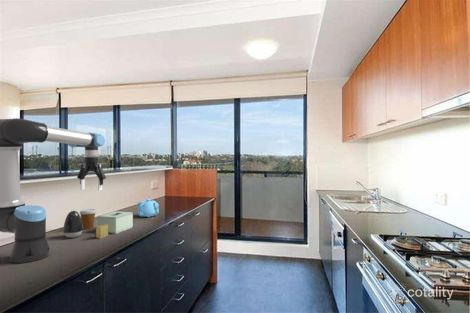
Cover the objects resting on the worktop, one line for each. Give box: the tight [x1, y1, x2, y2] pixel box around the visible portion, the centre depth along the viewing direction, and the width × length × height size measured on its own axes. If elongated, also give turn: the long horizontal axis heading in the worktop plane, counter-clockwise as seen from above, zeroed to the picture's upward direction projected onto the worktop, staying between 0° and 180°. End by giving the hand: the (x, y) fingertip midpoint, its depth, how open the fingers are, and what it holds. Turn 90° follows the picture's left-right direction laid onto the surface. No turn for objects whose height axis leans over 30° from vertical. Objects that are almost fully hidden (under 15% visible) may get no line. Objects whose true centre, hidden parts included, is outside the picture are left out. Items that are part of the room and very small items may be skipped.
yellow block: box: [95, 224, 109, 240], centre depth 160 cm, size 6×3×7 cm, turn 164°
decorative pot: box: [136, 198, 160, 218], centre depth 218 cm, size 16×16×14 cm
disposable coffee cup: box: [79, 208, 97, 231], centre depth 180 cm, size 10×10×12 cm
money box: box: [96, 210, 134, 235], centre depth 177 cm, size 16×14×10 cm
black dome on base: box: [62, 210, 84, 239], centre depth 161 cm, size 10×10×15 cm
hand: (91, 189), depth 177 cm, fingers open, 13 cm apart
